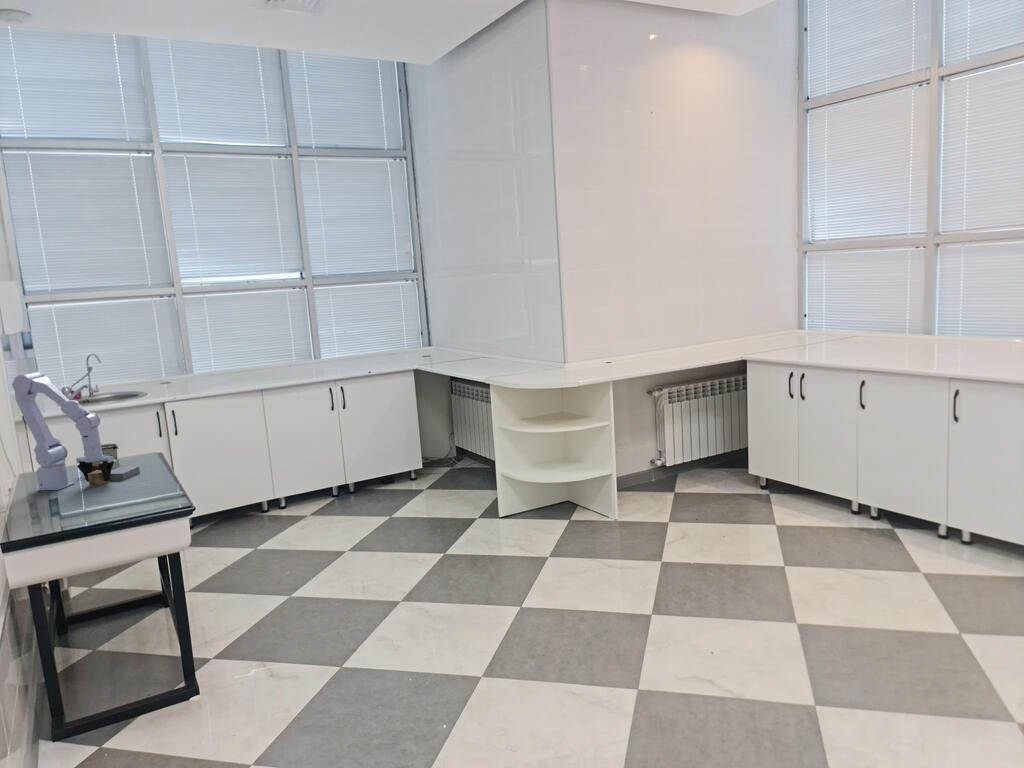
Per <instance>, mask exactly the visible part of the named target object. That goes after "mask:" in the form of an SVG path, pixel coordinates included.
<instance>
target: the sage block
mask: <svg viewBox="0 0 1024 768" xmlns="http://www.w3.org/2000/svg"><path fill="white" fill-rule="evenodd" d="M100 464H101V463H100ZM118 467H121V466H120V461H119V459H117V460H114V464H113V466H112V469H111V470H114V469H116V468H118Z"/></svg>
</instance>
